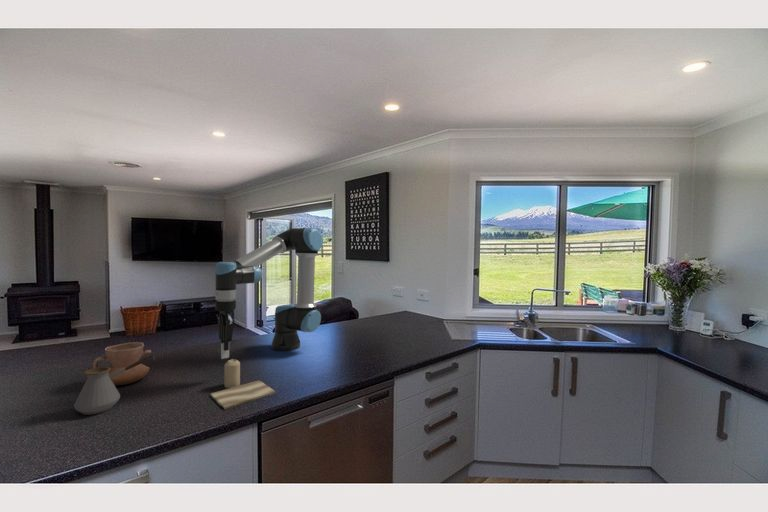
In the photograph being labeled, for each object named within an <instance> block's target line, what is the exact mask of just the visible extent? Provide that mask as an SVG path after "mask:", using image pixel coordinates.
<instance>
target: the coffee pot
mask: <svg viewBox="0 0 768 512" xmlns="http://www.w3.org/2000/svg"><path fill="white" fill-rule="evenodd" d="M152 358H153V359H154V361H155V360H156V358H155V355H154V354H152V355H151V354H150V355H149V356H146V357H145V358H142V359H141V360H140V359H139V361H137V362H135V363H134V364H132V365H130V366H128V367H126V368H125V369H123V370H120V371H118V372H116V373H114V374H112V375H110V376H109V375H108V373H109V370H110V369H111V367H110V366H100V367H99V366H98V368H93V367H92V368H90V369H88V370H86V371H85V372H84V375H86V378H87V379H86V381H85V383H84V384H83V387H82V389H81V390H80V393H79V395H78V396H77V398H76V400H75V402H74V404H73V408H74V409H75V411H77V412H79V413H81V414H82V415H85V416H86V415H90V416H91V415H96V414H100V413H104V412H106V411H108V410H111V409H112V408H113V406H114V405H116V404H117V403H118V402H119V400H120V398H121V394H120V392H119V390H118V389H117V387H116V386H115V385H114V384H113V382H112V380H111V379H110V378H112V377H114V376H116V375H118V374H120V373H122V372H124V371H126V370H128V369H130V368H133V367H135V366H137V365H139V364H143V363H144V362H145V361H146V362H147V361H148V360H149V359H152Z"/></svg>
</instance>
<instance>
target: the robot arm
mask: <svg viewBox="0 0 768 512" xmlns="http://www.w3.org/2000/svg"><path fill="white" fill-rule="evenodd" d="M323 244H324V238H323V236H322V233H321V232H320V230H318V229H317V228H314V227H313V228H312V227H299V228H296V227H295V228H294V227H293V228H290V229H287V230H285V231H283V232H281V233H279V234H277V235H275V236H274V237H272V238H271V240H270V241H268V242H267V243H265V244H263V245H261V246H259V247H257V248H256V249H254V250H252V251H250V252H248V253H246V254H245V255H242V256H241V257H238V258H237V259H236V260H233V261H219V262H217V263H216V265H215V272H214V273H215V292H213V294H214V296H215V302H214V303H215V305H214V309H215V311H217V312H219V314H217V315H216V319H217V329H218V340H220V359H221V360H224V359H229V358H230V343H231V342H232V341H233V335H234V334H233V332H234V325H235V322H236V321H235V318H233V314H232V311H234V310H236V308H237V306H236V305H237V301H236V298H237V285H243V284H256V283H257V284H258V283H260V281H261V280H262V277H263V271H262V269H261V267H259V266H260V265H262V264H263V263H265V262H266V261H269V260H271V259H272V258H273V257H275V256H277V255H278V254H284V253H286V252H290V251H294V253H295V255H296V256H297V285H296V287H297V291H296V294H297V295H296V303H290V304H289V303H288V304H281V305H277V306H276V307H275V310H274V312H275V313H274V335H273V338H272V341H271V347H270V348H271V349H272V350H274V351H279V352H281V351H284V352H286V351H293V350H296V349H298V348H300V347H301V340H300V337H299V334H298V331H299V332H303V333H313V332H314V331H316V330H317V329H318V328H319V326H320V324H321V322H322V315H321V313H320V311H319V310H318V309H317V304H316V303H315V270H316V257H317V256H319V250H321V249H322V247H323Z"/></svg>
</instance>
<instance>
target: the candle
mask: <svg viewBox="0 0 768 512" xmlns="http://www.w3.org/2000/svg"><path fill="white" fill-rule="evenodd" d="M223 374H224V380H223V381H224V382H223V383H224V384H223V385H224V388H225V389H229V388H232V387H236V386H240V385H241V362H240V361H239V360H238V359H236V358H235V359H234V358H231V359H230V360H229V359H228V360H227V361H226V362H225V364H224V371H223Z"/></svg>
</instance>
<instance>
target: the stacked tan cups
mask: <svg viewBox="0 0 768 512" xmlns="http://www.w3.org/2000/svg"><path fill="white" fill-rule="evenodd" d="M144 347H145V344H144V342H139V341H136V342H135V341H134V342H125V343H120V344H115V345H109V346H106V347H105V349H104V353H105V356H99V357H97V358H95V359H94V361H93V362H92V369H93V368H98V367H99V365H98V364H99V362H101V361H103V362H106V363H108V364H109V365H110V366H111V367H110V368H111V369H110V370H109V373H108V375H109V376H110V375H112V374H114V373H116V372H118V371H120V370H123V369H125V368H126V367H128V366H130V365H132V364H134V363H135V362H137V361H140V359H141V357H142V356H143V355H146V354H149V355H151V353H152V350H151V349H146V350H144ZM149 371H150V367H149V366H147V365H145V364H143V363H141V364H139V365H137V366H135V367H133V368H130V369H128V370H126V371H124V372H122V373H120V374H118V375H116V376H114V377H112V378H110V379H111V380H112V382H113V384H114V385H115V387H116V386H123V385H130V384H132V383H135V382H138V381H140V380H141V379H143V378H144V377H145V376H147V374H148V373H149Z"/></svg>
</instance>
